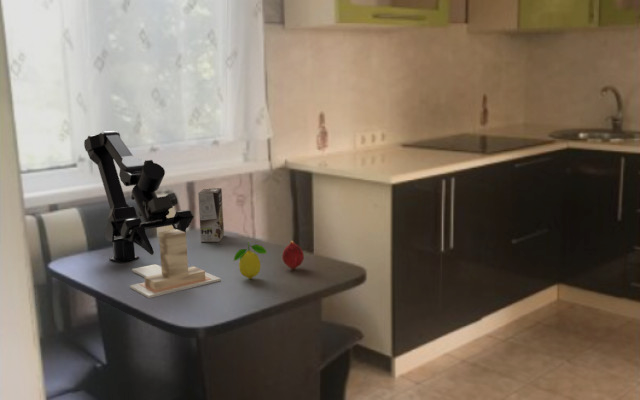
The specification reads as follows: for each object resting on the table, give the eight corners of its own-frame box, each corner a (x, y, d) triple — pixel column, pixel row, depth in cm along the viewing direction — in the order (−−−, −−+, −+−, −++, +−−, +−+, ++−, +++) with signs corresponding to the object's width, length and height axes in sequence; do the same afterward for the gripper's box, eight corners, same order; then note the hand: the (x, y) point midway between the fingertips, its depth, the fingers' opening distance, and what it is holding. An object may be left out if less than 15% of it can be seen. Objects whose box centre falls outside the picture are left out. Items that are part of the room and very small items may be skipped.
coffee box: (220, 241, 216) (217, 192, 213) (200, 242, 216) (197, 193, 213) (224, 235, 225) (222, 187, 222) (205, 235, 225) (202, 188, 222)
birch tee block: (145, 284, 171) (141, 235, 168) (194, 273, 179) (191, 226, 177) (155, 290, 166) (151, 239, 164) (205, 278, 175) (202, 229, 172)
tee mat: (109, 275, 182) (108, 273, 181) (176, 261, 194) (176, 259, 194) (148, 298, 162) (148, 295, 162) (220, 280, 175) (220, 278, 174)
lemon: (267, 277, 176) (266, 240, 174) (254, 283, 171) (253, 245, 169) (247, 274, 180) (245, 238, 178) (233, 280, 175) (231, 243, 173)
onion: (308, 268, 183) (307, 240, 182) (293, 273, 179) (292, 244, 177) (293, 265, 187) (292, 237, 186) (278, 269, 183) (277, 241, 181)
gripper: (121, 188, 168) (143, 239, 162) (188, 179, 180) (211, 227, 173) (111, 214, 176) (132, 264, 169) (176, 204, 187) (198, 250, 181)
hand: (169, 250), depth 173 cm, fingers open, 9 cm apart
